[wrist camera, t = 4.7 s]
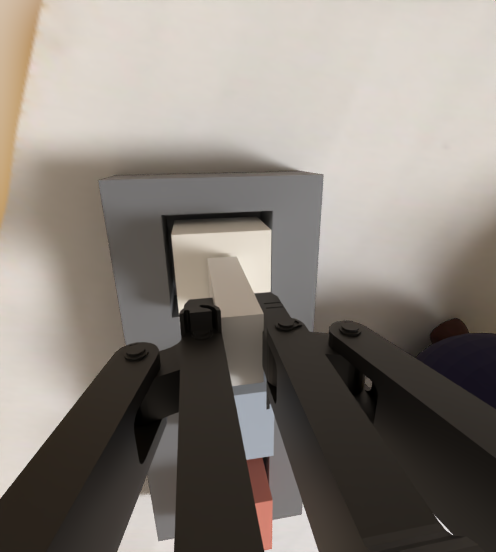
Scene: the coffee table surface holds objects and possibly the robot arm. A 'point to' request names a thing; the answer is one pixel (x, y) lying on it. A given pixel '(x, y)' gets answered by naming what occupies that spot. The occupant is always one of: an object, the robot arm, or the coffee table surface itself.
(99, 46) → the coffee table surface
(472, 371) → the toy
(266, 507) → the key brick
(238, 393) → the key slate
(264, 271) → the key ivory
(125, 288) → the console
